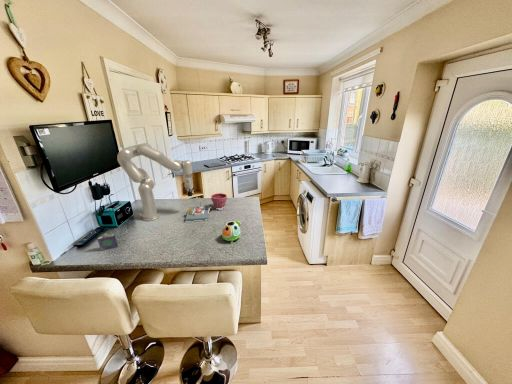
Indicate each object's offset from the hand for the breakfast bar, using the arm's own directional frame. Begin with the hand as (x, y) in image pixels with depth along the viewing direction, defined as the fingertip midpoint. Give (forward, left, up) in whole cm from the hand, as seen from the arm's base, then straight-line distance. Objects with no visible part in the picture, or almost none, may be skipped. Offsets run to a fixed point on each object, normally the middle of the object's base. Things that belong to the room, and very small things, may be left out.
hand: (190, 195), depth 173 cm
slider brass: (0, -6, -14) cm, 15 cm away
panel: (+7, -4, -17) cm, 18 cm away
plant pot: (+24, +8, -17) cm, 30 cm away
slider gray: (+13, +1, -14) cm, 19 cm away
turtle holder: (+36, -43, -17) cm, 58 cm away
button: (+7, -7, -12) cm, 16 cm away
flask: (-44, -47, -17) cm, 66 cm away
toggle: (+7, +5, -13) cm, 16 cm away
